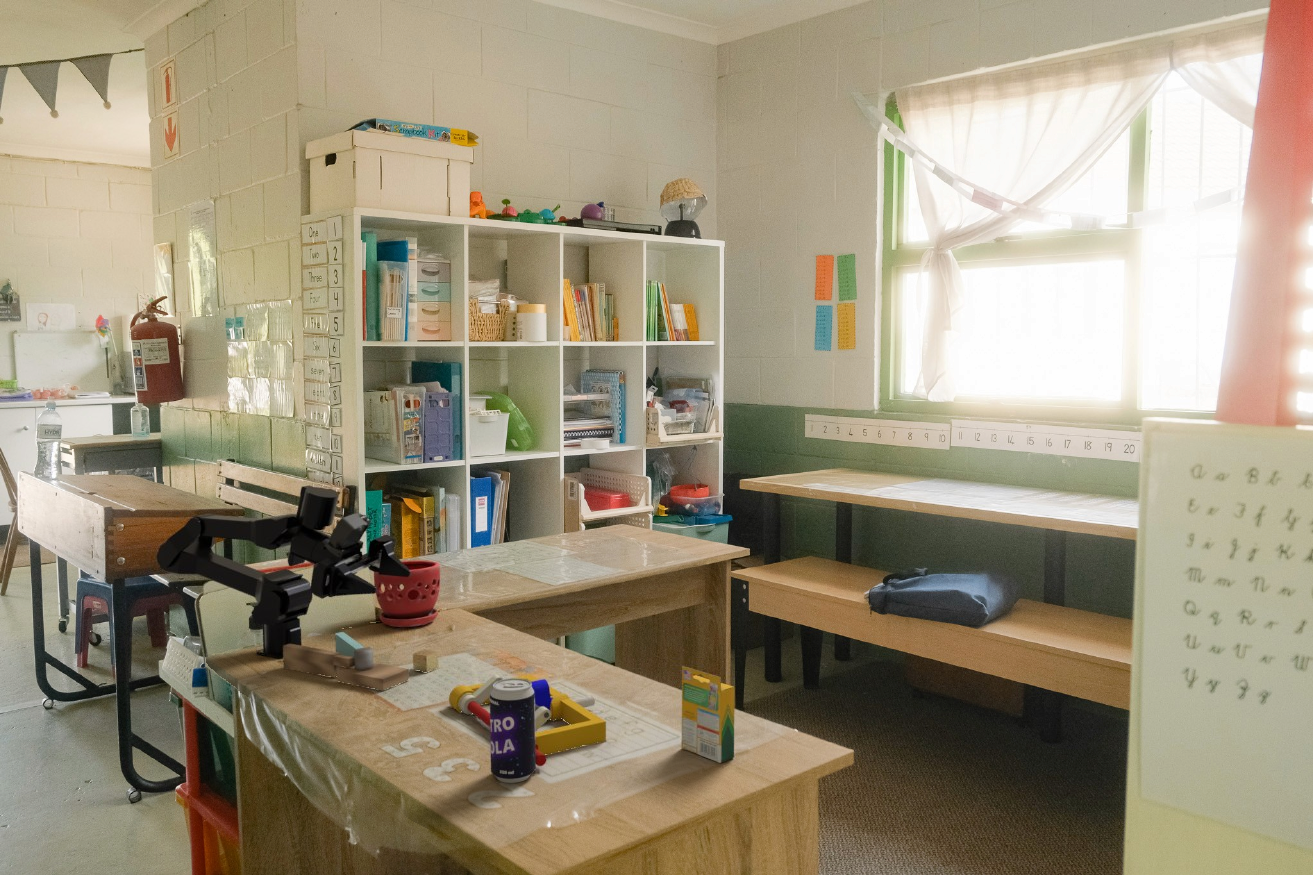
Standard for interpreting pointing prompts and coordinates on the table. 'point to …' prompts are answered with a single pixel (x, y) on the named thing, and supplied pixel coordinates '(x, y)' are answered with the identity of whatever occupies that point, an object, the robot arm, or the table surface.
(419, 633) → the table surface
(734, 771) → the table surface
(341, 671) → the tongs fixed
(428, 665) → the block
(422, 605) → the plant pot
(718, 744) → the crayon box
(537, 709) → the mechanical clamp
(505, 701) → the beverage can
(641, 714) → the table surface
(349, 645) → the bar
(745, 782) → the table surface
